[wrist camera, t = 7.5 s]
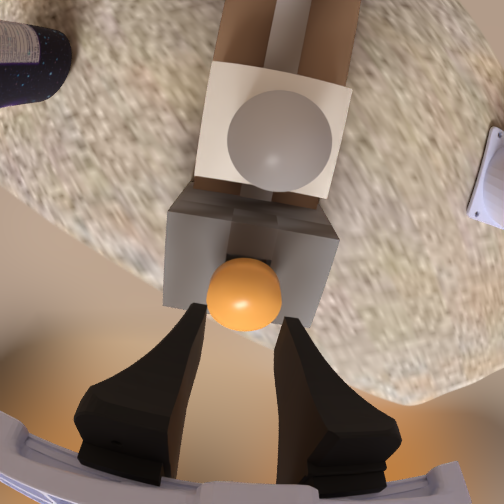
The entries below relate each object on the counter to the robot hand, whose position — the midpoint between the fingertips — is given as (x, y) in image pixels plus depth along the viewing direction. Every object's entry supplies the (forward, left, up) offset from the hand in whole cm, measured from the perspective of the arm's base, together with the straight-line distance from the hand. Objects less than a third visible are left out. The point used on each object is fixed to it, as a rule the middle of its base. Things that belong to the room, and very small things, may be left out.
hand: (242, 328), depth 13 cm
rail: (0, -11, -10) cm, 15 cm away
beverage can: (+17, -11, -11) cm, 23 cm away
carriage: (0, -8, -8) cm, 11 cm away
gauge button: (0, 0, -5) cm, 5 cm away
